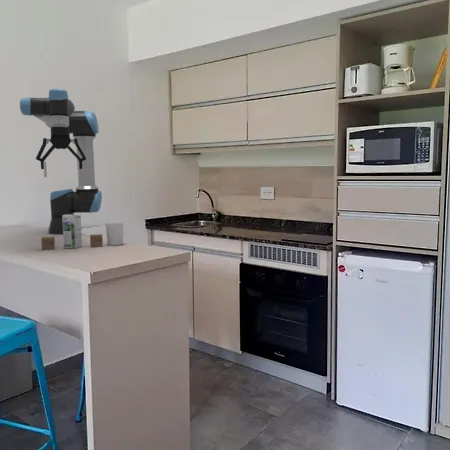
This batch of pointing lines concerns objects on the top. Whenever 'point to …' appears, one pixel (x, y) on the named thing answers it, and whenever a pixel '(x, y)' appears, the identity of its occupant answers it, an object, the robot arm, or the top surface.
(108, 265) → the top surface
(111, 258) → the top surface
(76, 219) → the syrup box
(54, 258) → the top surface
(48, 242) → the walnut block seven
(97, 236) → the walnut block one
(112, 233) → the white cup
